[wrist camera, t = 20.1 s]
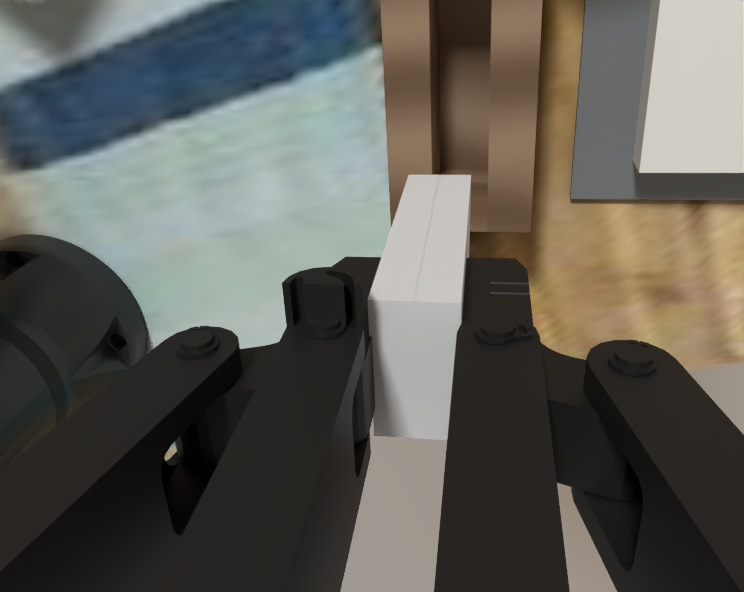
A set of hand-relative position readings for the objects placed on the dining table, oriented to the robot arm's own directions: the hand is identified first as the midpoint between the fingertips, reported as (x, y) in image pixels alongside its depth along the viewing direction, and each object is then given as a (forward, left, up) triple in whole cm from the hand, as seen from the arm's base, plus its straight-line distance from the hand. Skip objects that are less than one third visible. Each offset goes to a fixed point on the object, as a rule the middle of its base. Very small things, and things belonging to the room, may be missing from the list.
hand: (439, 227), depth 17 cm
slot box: (-1, 0, -28) cm, 28 cm away
